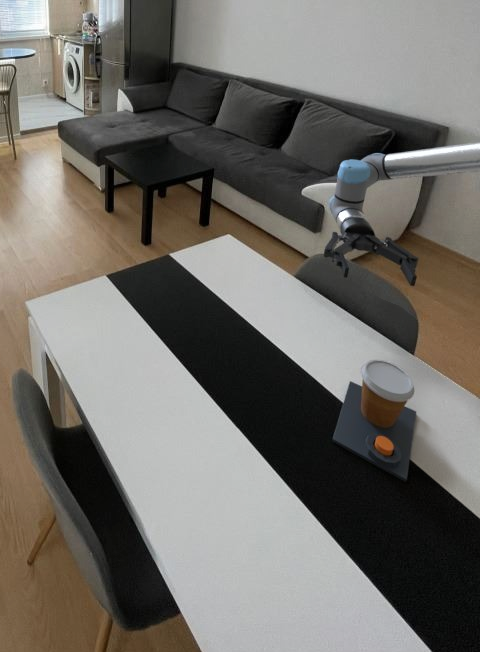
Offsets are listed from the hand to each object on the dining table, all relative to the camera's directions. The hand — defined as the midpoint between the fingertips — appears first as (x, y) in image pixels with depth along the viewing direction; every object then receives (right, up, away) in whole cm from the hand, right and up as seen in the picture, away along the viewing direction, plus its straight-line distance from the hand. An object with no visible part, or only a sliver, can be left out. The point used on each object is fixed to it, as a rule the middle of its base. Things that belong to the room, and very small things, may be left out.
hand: (379, 277), depth 100 cm
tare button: (-8, -32, -12) cm, 35 cm away
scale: (-5, -33, -5) cm, 33 cm away
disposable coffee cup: (-3, -30, -4) cm, 31 cm away
